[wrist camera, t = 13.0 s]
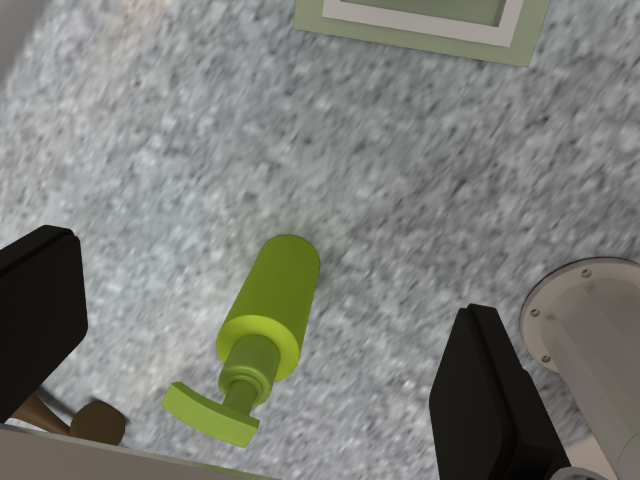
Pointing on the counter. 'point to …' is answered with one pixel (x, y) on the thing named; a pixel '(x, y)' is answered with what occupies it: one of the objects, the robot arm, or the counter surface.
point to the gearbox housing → (433, 25)
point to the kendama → (76, 421)
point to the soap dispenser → (255, 341)
